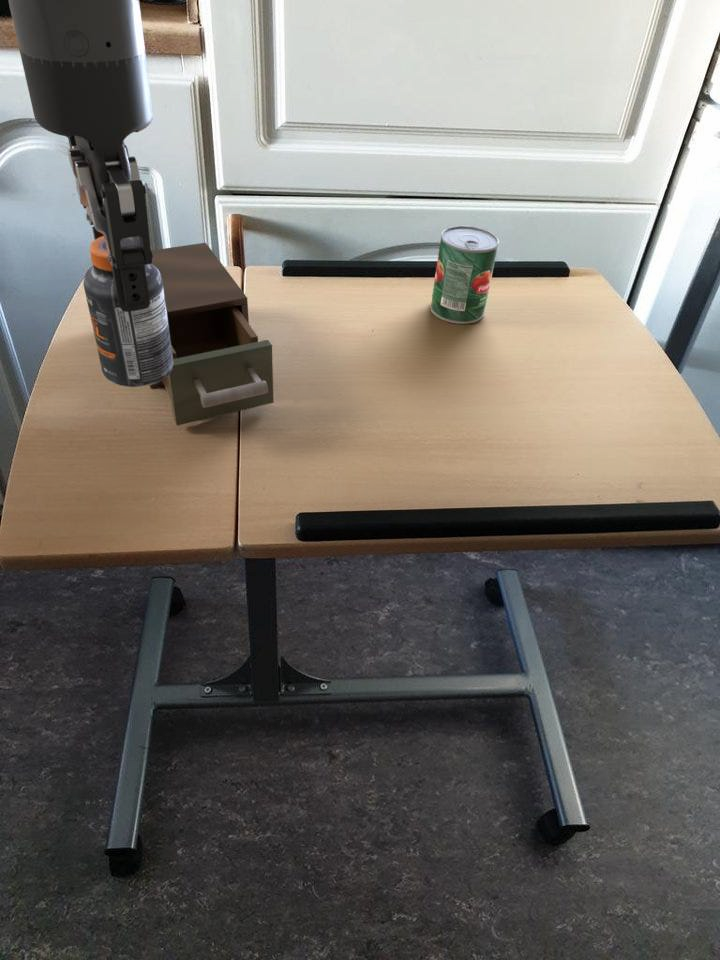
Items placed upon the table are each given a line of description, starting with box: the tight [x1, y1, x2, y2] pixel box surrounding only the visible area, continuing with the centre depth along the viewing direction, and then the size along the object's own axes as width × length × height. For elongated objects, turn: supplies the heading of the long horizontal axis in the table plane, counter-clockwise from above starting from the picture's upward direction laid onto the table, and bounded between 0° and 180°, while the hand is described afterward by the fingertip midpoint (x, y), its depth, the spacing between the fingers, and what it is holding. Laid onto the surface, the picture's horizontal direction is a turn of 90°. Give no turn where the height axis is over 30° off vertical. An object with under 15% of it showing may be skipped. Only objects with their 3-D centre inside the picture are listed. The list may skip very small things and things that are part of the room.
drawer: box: [162, 306, 274, 427], centre depth 80 cm, size 19×11×8 cm, turn 27°
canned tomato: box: [429, 225, 500, 325], centre depth 99 cm, size 8×8×11 cm
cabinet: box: [148, 242, 250, 389], centre depth 88 cm, size 16×13×10 cm
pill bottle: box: [83, 236, 173, 388], centre depth 57 cm, size 6×6×11 cm
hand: (124, 288), depth 55 cm, fingers closed on pill bottle, 6 cm apart
